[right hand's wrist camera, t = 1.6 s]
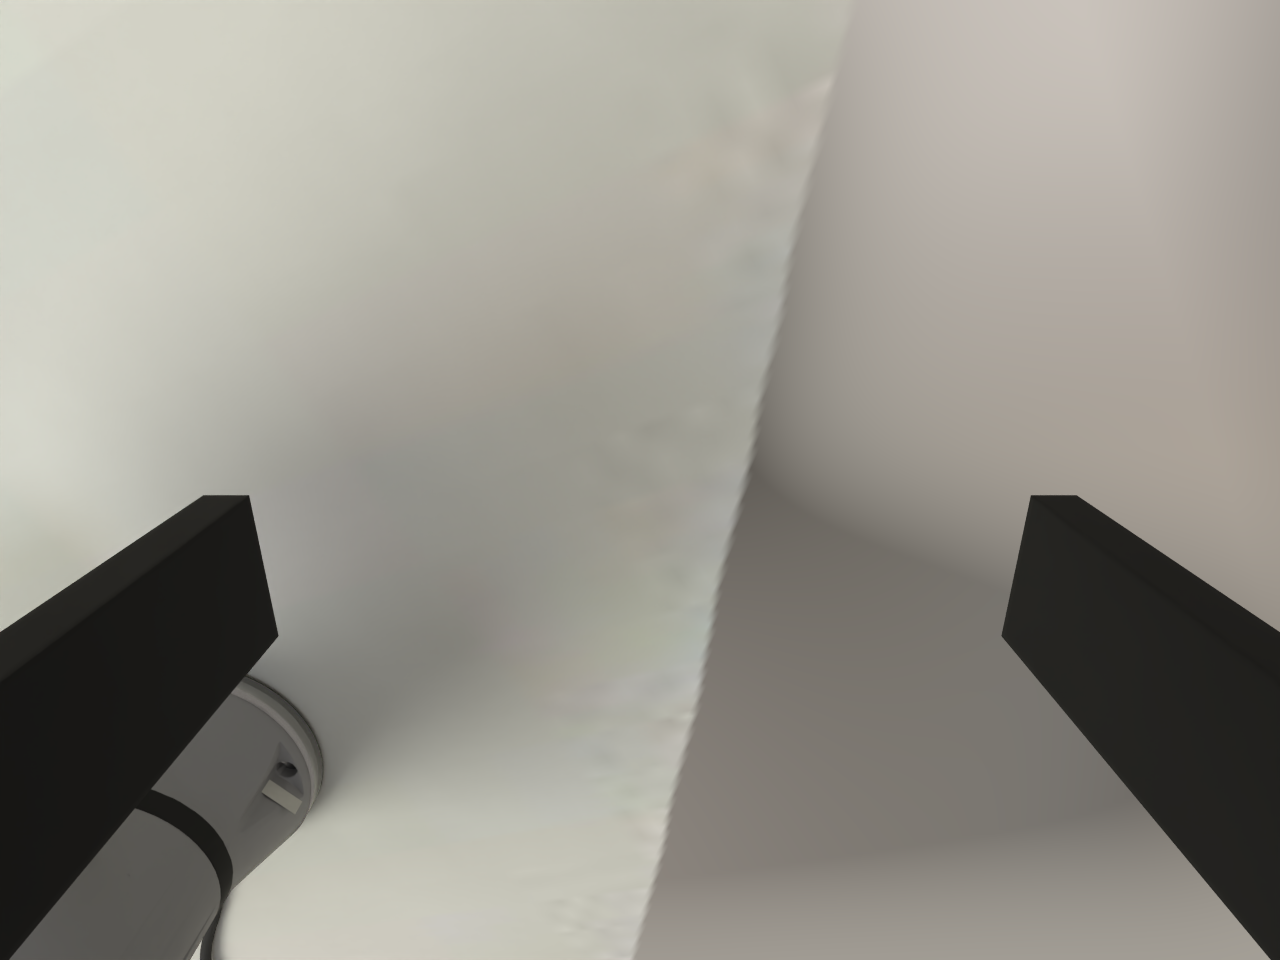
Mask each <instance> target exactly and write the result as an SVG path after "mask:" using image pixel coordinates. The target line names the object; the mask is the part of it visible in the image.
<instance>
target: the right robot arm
mask: <svg viewBox="0 0 1280 960" xmlns="http://www.w3.org/2000/svg"><path fill="white" fill-rule="evenodd" d="M277 637H278V631H277V627H276V622H275V617H274V612H273V608H272V603H271V598H270V593H269V588H268V584H267V579H266V574H265V569H264V565H263V560H262V555H261V550H260V545H259V541H258V536H257V531H256V526H255V522H254V517H253V512H252V507H251V502H250V498H249V495H203V496H202V497H200V498H199V499H197V500H196V501H194V502H193V503H191V504H190V505H188V506H187V507H185V508H184V509H182V510H181V511H179V512H178V513H177V514H175V515H174V516H172V517H171V518H169V519H168V520H166V521H165V522H163V523H162V524H160V525H159V526H157V527H156V528H154V529H153V530H151V531H150V532H148V533H147V534H145V535H144V536H142V537H141V538H139V539H138V540H136V541H135V542H133V543H132V544H130V545H129V546H128V547H126V548H125V549H123V550H122V551H120V552H119V553H117V554H116V555H114V556H113V557H111V558H110V559H108V560H107V561H105V562H104V563H102V564H101V565H99V566H98V567H96V568H95V569H93V570H92V571H90V572H89V573H87V574H86V575H84V576H83V577H81V578H80V579H78V580H77V581H76V582H74V583H73V584H71V585H70V586H68V587H67V588H65V589H64V590H62V591H61V592H59V593H58V594H56V595H55V596H53V597H52V598H50V599H49V600H47V601H46V602H44V603H43V604H41V605H40V606H38V607H37V608H35V609H34V610H32V611H31V612H29V613H28V614H27V615H25V616H24V617H22V618H21V619H19V620H18V621H16V622H15V623H13V624H12V625H10V626H9V627H7V628H6V629H4V630H3V631H1V632H0V960H190V959H191V957H192V956H193V954H194V952H195V950H196V949H197V947H198V945H199V944H200V942H201V940H202V944H201V950H200V960H211V948H212V941H213V937H214V933H215V930H216V926H217V923H218V920H219V916H220V913H221V909H222V904H223V903H224V901H225V899H226V898H227V896H228V895H229V893H230V891H231V890H232V889H233V888H234V887H235V886H236V885H237V884H238V883H240V882H241V881H242V880H243V879H244V878H245V877H246V876H247V875H248V874H249V873H251V872H252V871H253V870H254V869H255V868H256V867H257V866H258V865H259V864H260V863H262V862H263V861H264V860H265V859H266V858H267V857H268V856H269V855H270V854H271V853H273V852H274V851H275V850H276V849H277V848H278V847H279V846H280V845H281V844H282V843H284V842H285V841H286V840H287V839H288V838H289V837H290V836H291V835H292V834H293V833H294V832H295V831H296V830H297V829H298V828H299V827H300V825H301V824H302V822H303V821H304V819H305V817H306V816H307V814H308V812H309V810H310V808H311V806H312V805H313V803H314V801H315V799H316V797H317V795H318V793H319V790H320V786H321V783H322V776H323V765H322V757H321V753H320V749H319V746H318V744H317V741H316V739H315V737H314V735H313V733H312V731H311V730H310V728H309V726H308V725H307V723H306V722H305V721H304V719H303V718H302V717H301V716H300V714H299V713H298V712H297V711H296V710H295V709H294V708H293V707H292V706H291V705H290V704H289V703H288V702H287V701H285V700H284V699H283V698H282V697H280V696H279V695H278V694H276V693H275V692H273V691H272V690H270V689H269V688H267V687H266V686H264V685H262V684H260V683H259V682H257V681H254V680H252V679H250V678H248V677H246V674H247V673H248V672H249V671H250V670H251V668H252V667H253V666H254V665H255V664H256V662H257V661H258V660H259V659H260V658H261V656H262V655H263V654H264V653H265V652H266V650H267V649H268V648H269V647H270V646H271V644H272V643H273V642H274V641H275V640H276V638H277ZM1002 637H1003V638H1004V640H1005V641H1006V642H1007V643H1008V644H1009V646H1010V647H1011V648H1012V649H1013V650H1014V652H1015V653H1016V654H1017V655H1018V656H1019V658H1020V659H1021V660H1022V661H1023V662H1024V664H1025V665H1026V666H1027V667H1028V668H1029V670H1030V671H1031V672H1032V673H1033V674H1034V676H1035V677H1036V678H1037V679H1038V680H1039V682H1040V683H1041V684H1042V685H1043V686H1044V688H1045V689H1046V690H1047V691H1048V692H1049V694H1050V695H1051V696H1052V697H1053V698H1054V700H1055V701H1056V702H1057V703H1058V704H1059V706H1060V707H1061V708H1062V709H1063V710H1064V712H1065V713H1066V714H1067V715H1068V717H1069V718H1070V719H1071V720H1072V721H1073V723H1074V724H1075V725H1076V726H1077V727H1078V728H1079V730H1080V731H1081V732H1082V733H1083V735H1084V736H1085V737H1086V738H1087V739H1088V741H1089V742H1090V743H1091V744H1092V745H1093V746H1094V748H1095V749H1096V750H1097V751H1098V753H1099V754H1100V755H1101V756H1102V757H1103V759H1104V760H1105V761H1106V762H1107V763H1108V765H1109V766H1110V767H1111V768H1112V769H1113V771H1114V772H1115V773H1116V774H1117V775H1118V777H1119V778H1120V779H1121V780H1122V781H1123V783H1124V784H1125V785H1126V786H1127V787H1128V789H1129V790H1130V791H1131V792H1132V793H1133V795H1134V796H1135V797H1136V798H1137V799H1138V801H1139V802H1140V803H1141V804H1142V805H1143V807H1144V808H1145V809H1146V810H1147V811H1148V813H1149V814H1150V815H1151V816H1152V817H1153V819H1154V820H1155V821H1156V822H1157V823H1158V825H1159V826H1160V827H1161V828H1162V829H1163V831H1164V832H1165V833H1166V834H1167V835H1168V837H1169V838H1170V839H1171V840H1172V841H1173V843H1174V844H1175V845H1176V846H1177V848H1178V849H1179V850H1180V851H1181V852H1182V853H1183V855H1184V856H1185V857H1186V858H1187V860H1188V861H1189V862H1190V863H1191V864H1192V866H1193V867H1194V868H1195V869H1196V870H1197V872H1198V873H1199V874H1200V875H1201V876H1202V878H1203V879H1204V880H1205V881H1206V882H1207V884H1208V885H1209V886H1210V887H1211V888H1212V890H1213V891H1214V892H1215V893H1216V894H1217V896H1218V897H1219V898H1220V899H1221V900H1222V902H1223V903H1224V904H1225V905H1226V906H1227V908H1228V909H1229V910H1230V911H1231V912H1232V914H1233V915H1234V916H1235V917H1236V918H1237V920H1238V921H1239V922H1240V923H1241V924H1242V926H1243V927H1244V928H1245V929H1246V930H1247V932H1248V933H1249V934H1250V935H1251V936H1252V938H1253V939H1254V940H1255V941H1256V942H1257V944H1258V945H1259V946H1260V947H1261V948H1262V950H1263V951H1264V952H1265V953H1266V955H1267V956H1268V957H1269V958H1270V959H1271V960H1280V632H1279V631H1277V630H1276V629H1274V628H1273V627H1271V626H1270V625H1268V624H1267V623H1265V622H1264V621H1262V620H1261V619H1259V618H1258V617H1256V616H1255V615H1253V614H1252V613H1251V612H1249V611H1248V610H1246V609H1245V608H1243V607H1242V606H1240V605H1239V604H1237V603H1236V602H1234V601H1233V600H1231V599H1230V598H1228V597H1227V596H1225V595H1224V594H1222V593H1221V592H1219V591H1218V590H1216V589H1215V588H1213V587H1212V586H1210V585H1209V584H1207V583H1206V582H1204V581H1203V580H1201V579H1200V578H1199V577H1197V576H1196V575H1194V574H1193V573H1191V572H1190V571H1188V570H1187V569H1185V568H1184V567H1182V566H1181V565H1179V564H1178V563H1176V562H1175V561H1173V560H1172V559H1170V558H1169V557H1167V556H1166V555H1164V554H1163V553H1161V552H1160V551H1158V550H1157V549H1155V548H1154V547H1152V546H1151V545H1149V544H1148V543H1147V542H1145V541H1144V540H1142V539H1141V538H1139V537H1138V536H1136V535H1135V534H1133V533H1132V532H1130V531H1129V530H1127V529H1126V528H1124V527H1123V526H1121V525H1120V524H1118V523H1117V522H1115V521H1114V520H1112V519H1111V518H1109V517H1108V516H1106V515H1105V514H1103V513H1102V512H1100V511H1099V510H1098V509H1096V508H1095V507H1093V506H1092V505H1090V504H1089V503H1087V502H1086V501H1084V500H1083V499H1081V498H1080V497H1078V496H1077V495H1031V498H1030V502H1029V508H1028V512H1027V517H1026V522H1025V526H1024V531H1023V536H1022V541H1021V545H1020V550H1019V555H1018V560H1017V565H1016V569H1015V574H1014V579H1013V584H1012V588H1011V593H1010V598H1009V603H1008V607H1007V612H1006V617H1005V622H1004V627H1003V631H1002Z"/></svg>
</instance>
